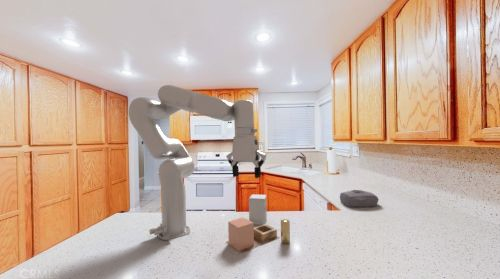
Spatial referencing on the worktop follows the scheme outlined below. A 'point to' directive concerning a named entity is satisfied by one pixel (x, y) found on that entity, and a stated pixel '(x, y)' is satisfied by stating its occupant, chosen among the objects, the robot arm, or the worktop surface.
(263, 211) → the supplement box
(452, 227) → the worktop surface
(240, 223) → the salmon pink cube
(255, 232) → the board
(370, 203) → the small grey backpack
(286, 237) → the peg
